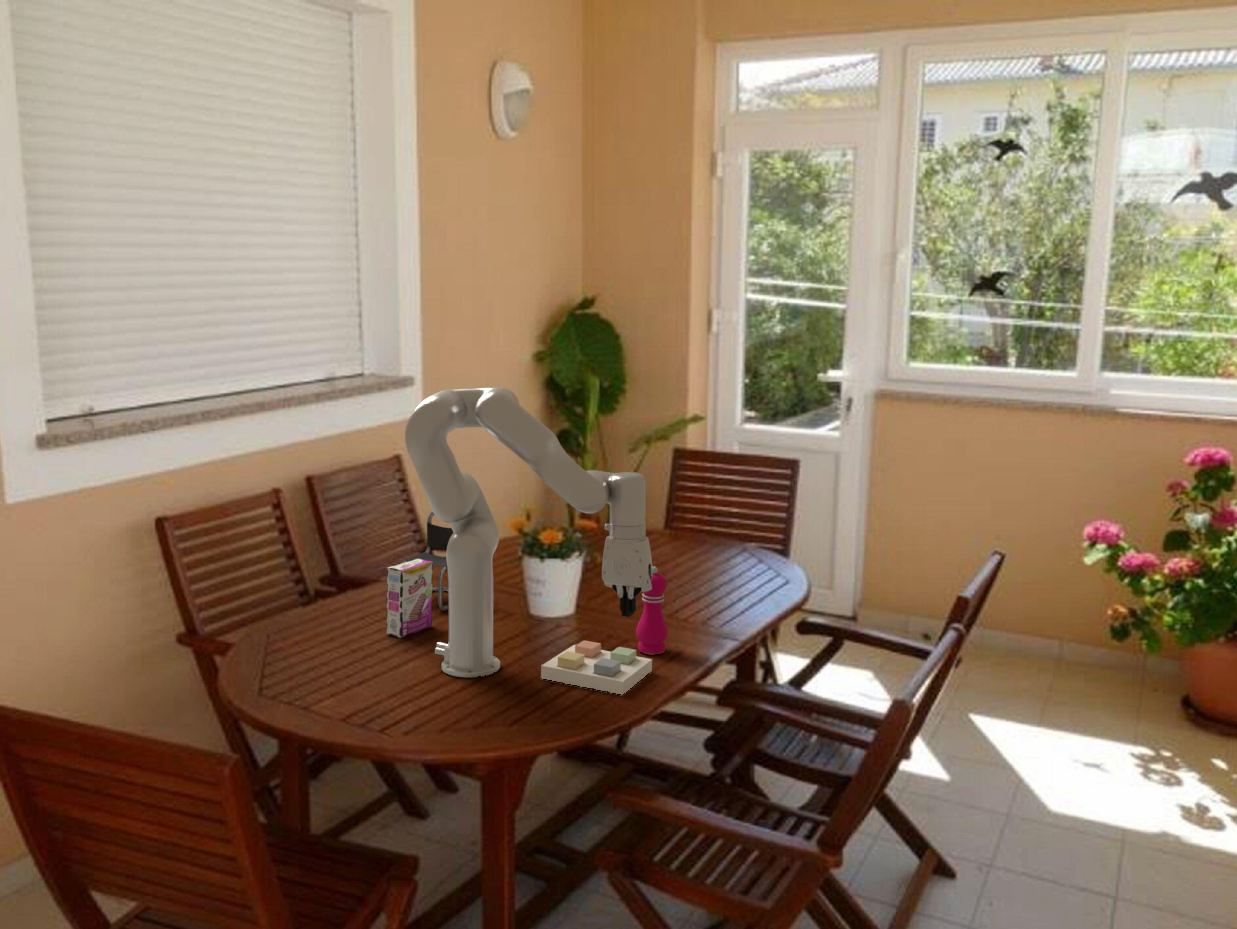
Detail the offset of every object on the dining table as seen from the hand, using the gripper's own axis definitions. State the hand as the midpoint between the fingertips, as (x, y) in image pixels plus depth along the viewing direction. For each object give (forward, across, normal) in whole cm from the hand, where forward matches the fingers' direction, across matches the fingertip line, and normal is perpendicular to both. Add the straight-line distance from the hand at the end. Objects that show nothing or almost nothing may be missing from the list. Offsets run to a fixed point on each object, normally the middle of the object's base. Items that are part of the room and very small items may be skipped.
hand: (627, 614), depth 231 cm
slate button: (+10, -1, -8) cm, 13 cm away
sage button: (+10, -1, 0) cm, 11 cm away
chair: (+12, -65, +24) cm, 70 cm away
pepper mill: (+13, -1, +16) cm, 21 cm away
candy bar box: (+12, -57, +1) cm, 59 cm away
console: (+13, -5, -4) cm, 15 cm away
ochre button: (+10, -9, -8) cm, 16 cm away
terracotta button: (+10, -9, 0) cm, 14 cm away
